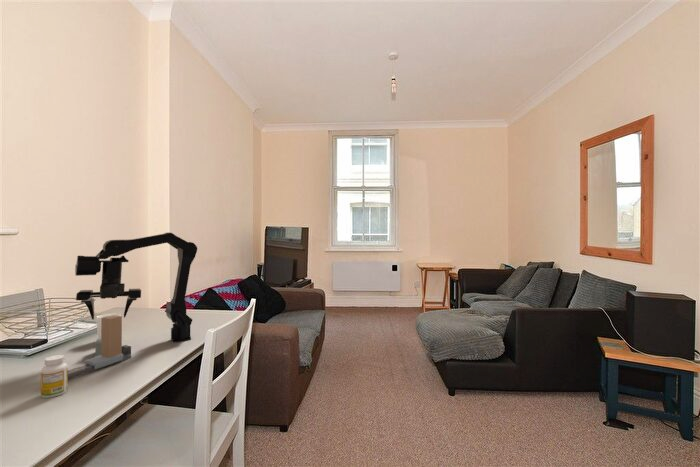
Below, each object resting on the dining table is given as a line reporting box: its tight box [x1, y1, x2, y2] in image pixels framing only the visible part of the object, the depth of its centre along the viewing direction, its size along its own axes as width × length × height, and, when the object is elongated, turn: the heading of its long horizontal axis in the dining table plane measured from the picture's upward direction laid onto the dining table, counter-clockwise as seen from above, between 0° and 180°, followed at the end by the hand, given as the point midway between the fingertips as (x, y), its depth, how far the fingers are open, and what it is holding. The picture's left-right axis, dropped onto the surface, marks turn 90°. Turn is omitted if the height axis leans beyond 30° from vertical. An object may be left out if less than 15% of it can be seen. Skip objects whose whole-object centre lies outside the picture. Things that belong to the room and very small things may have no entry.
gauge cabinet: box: [94, 337, 101, 357], centre depth 122 cm, size 7×7×5 cm
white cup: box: [96, 312, 122, 338], centre depth 136 cm, size 8×8×10 cm
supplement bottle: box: [40, 354, 69, 399], centre depth 91 cm, size 5×5×10 cm
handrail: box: [68, 344, 132, 380], centre depth 107 cm, size 22×3×4 cm, turn 158°
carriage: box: [84, 315, 124, 370], centre depth 110 cm, size 8×6×14 cm, turn 158°
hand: (109, 318), depth 121 cm, fingers open, 9 cm apart
